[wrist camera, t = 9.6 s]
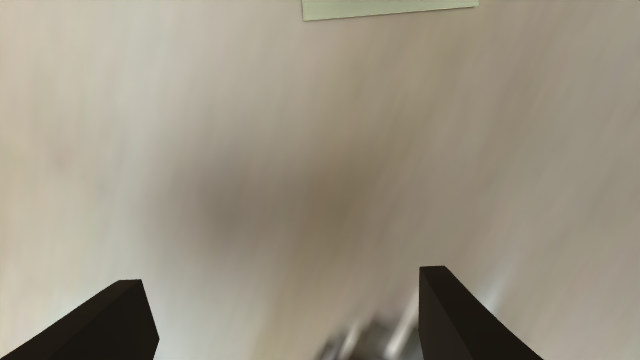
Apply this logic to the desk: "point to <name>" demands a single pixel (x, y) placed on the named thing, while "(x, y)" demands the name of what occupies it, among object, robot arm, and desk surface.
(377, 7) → the pad
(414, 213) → the desk surface
